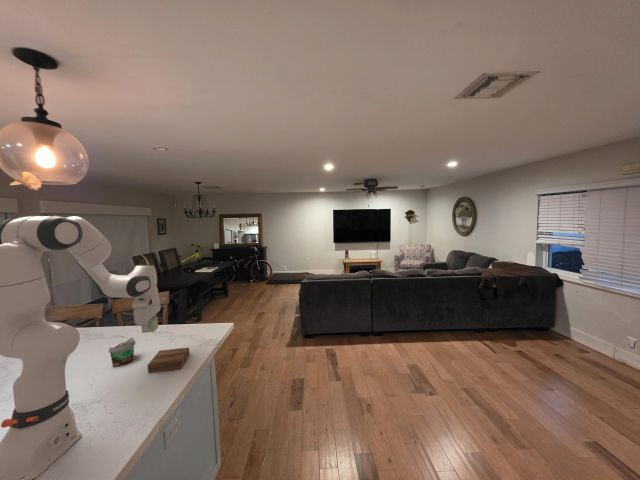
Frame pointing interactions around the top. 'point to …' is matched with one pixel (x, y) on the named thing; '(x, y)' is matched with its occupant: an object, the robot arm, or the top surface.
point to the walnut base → (168, 360)
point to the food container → (122, 353)
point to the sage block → (151, 325)
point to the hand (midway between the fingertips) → (150, 326)
